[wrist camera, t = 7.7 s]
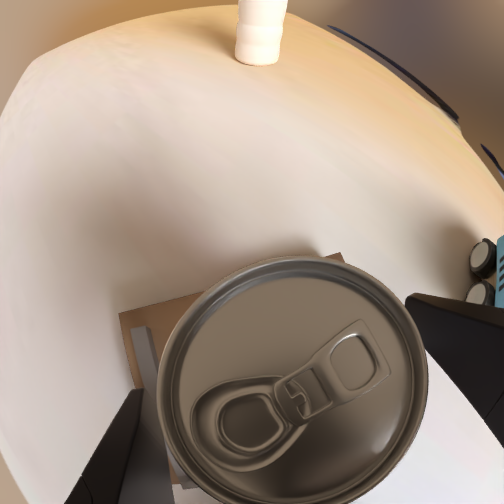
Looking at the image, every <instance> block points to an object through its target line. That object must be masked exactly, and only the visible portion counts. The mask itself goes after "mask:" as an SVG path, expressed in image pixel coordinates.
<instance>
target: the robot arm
mask: <svg viewBox="0 0 504 504" xmlns="http://www.w3.org/2000/svg"><path fill="white" fill-rule="evenodd" d="M405 308H406V309H407V311H408V312H409V314H410V315H411V317H412V319H413V320H414V322H415V324H416V326H417V329H418V331H419V333H420V336H421V339H422V341H423V345H424V348H425V349H426V351H427V352H428V353H429V354H430V355H431V356H432V358H433V359H434V360H435V361H436V362H437V363H438V365H439V366H440V367H441V368H442V369H443V370H444V372H445V373H446V374H447V375H448V376H449V378H450V379H451V380H452V381H453V382H454V384H455V385H456V386H457V387H458V388H459V390H460V391H461V392H462V393H463V395H464V396H465V397H466V398H467V400H468V401H469V402H470V403H471V405H472V406H473V407H474V408H475V410H476V411H477V412H478V414H479V415H480V416H481V418H482V419H483V420H484V422H485V423H486V425H487V426H488V427H489V429H490V430H491V431H492V433H493V434H494V435H495V437H496V438H497V440H498V441H499V442H500V444H501V445H502V447H503V448H504V308H500V307H499V308H498V307H494V306H488V305H482V304H477V303H471V302H465V301H459V300H454V299H448V298H443V297H437V296H432V295H426V294H420V293H413V294H411V295H409V296H408V297H407V298H406V300H405ZM64 504H175V502H174V496H173V490H172V484H171V477H170V470H169V462H168V455H167V449H166V445H165V440H164V436H163V433H162V429H161V426H160V422H159V417H158V410H157V405H156V403H155V402H154V400H153V399H152V397H151V396H150V394H149V393H148V391H147V390H146V389H145V388H143V387H142V388H136V389H132V390H131V391H130V393H129V394H128V396H127V398H126V399H125V401H124V403H123V404H122V406H121V407H120V409H119V411H118V412H117V414H116V416H115V417H114V419H113V421H112V422H111V424H110V426H109V427H108V429H107V431H106V433H105V434H104V436H103V438H102V439H101V441H100V443H99V445H98V446H97V448H96V450H95V451H94V453H93V455H92V457H91V458H90V460H89V462H88V464H87V465H86V467H85V469H84V471H83V473H82V476H80V478H79V479H78V481H77V483H76V485H75V487H74V488H73V490H72V492H71V493H70V495H69V497H68V498H67V500H66V501H65V503H64Z"/></svg>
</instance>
